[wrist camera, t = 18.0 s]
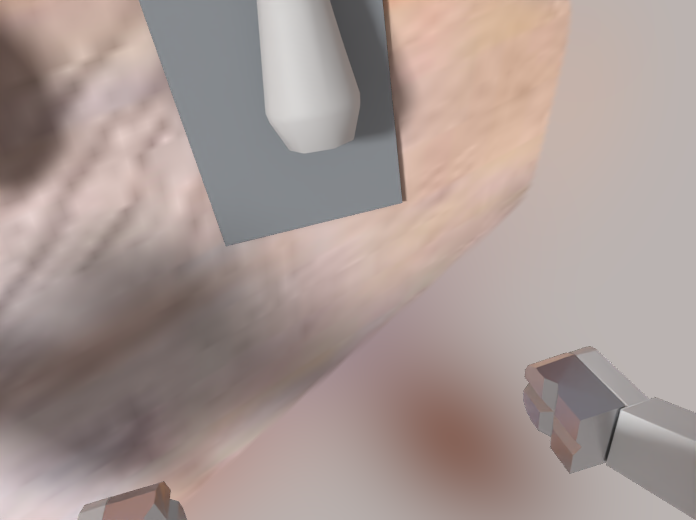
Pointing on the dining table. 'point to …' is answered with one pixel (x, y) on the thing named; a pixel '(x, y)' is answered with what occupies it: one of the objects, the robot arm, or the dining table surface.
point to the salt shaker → (306, 75)
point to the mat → (253, 125)
